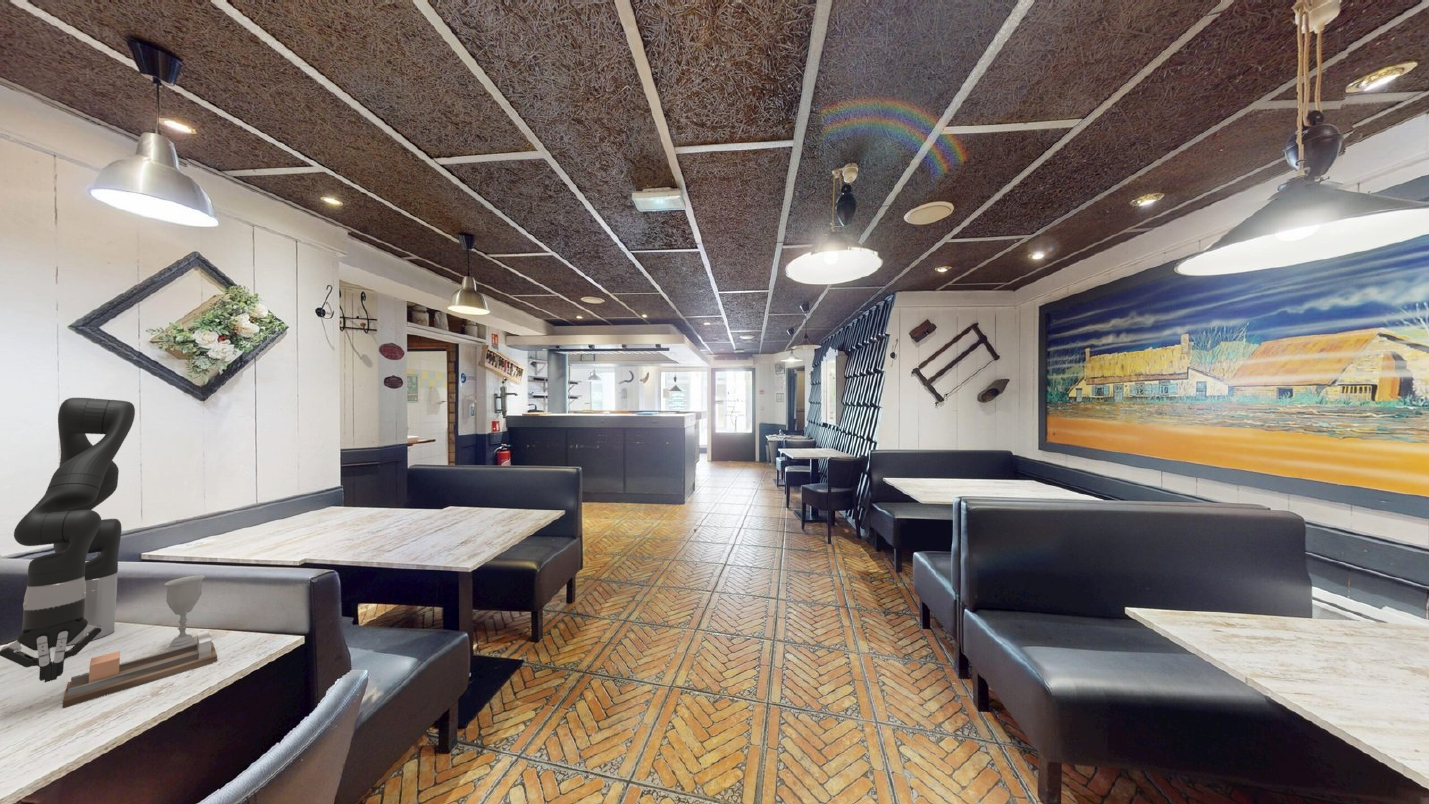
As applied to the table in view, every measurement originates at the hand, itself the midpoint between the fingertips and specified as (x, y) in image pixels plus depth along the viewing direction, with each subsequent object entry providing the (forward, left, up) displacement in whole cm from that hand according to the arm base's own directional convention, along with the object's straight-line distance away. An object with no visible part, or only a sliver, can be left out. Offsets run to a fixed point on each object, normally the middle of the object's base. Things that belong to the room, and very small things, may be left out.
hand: (50, 679), depth 94 cm
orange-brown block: (0, +7, -3) cm, 8 cm away
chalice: (-14, +19, -5) cm, 24 cm away
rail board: (0, +13, -5) cm, 14 cm away
